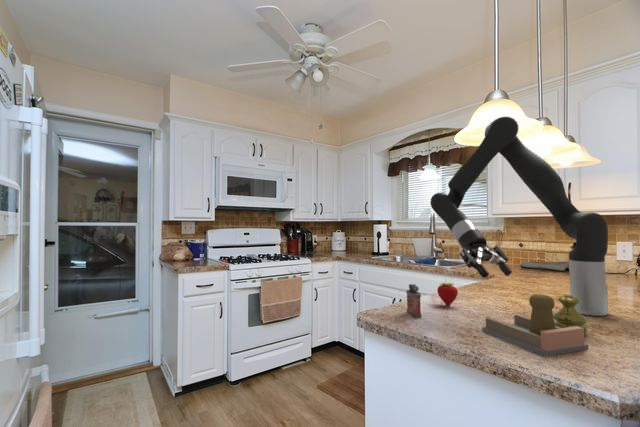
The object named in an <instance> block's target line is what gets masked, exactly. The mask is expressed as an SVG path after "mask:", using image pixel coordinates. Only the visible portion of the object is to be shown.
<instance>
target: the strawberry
mask: <svg viewBox="0 0 640 427" xmlns="http://www.w3.org/2000/svg"><path fill="white" fill-rule="evenodd" d="M444 280H445V281H447V280H446V278H445V279H444ZM436 290H437V293H438V296H439V298H440V299H441V301H442V302H443V303H444V304H445V305H446V306H447V307H450V306H451V305H452V303H454V302H455V300H456V299H457V297H458V293H459V291H458V289H457V287H456V286H454V283H450V282H441V284H439V286H438V287H437V289H436Z"/></svg>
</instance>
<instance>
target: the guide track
mask: <svg viewBox="0 0 640 427" xmlns="http://www.w3.org/2000/svg"><path fill="white" fill-rule="evenodd" d="M513 316H514V323H505V322H502V321H499V320H497V319H494V318H491V317H485V326H484V327H483V326H482V328H481V329H482V330H481V331H482V332H484V333H486V334H488V335H490V336H493V337H496V338H498V339H500V340H503V341H505V342H508V343H509V344H513V345H515V346H518V347H520V348H522V349H525V350H527V351H530V352H532V353H534V354H537V355H539V356H542V357H549V356H554V355H562V354H565V353H572V352H579V351H584V350H589V347H590V346H589V344H588V343H585V336H584V328H581V327H578V326H574V327H567V328H561V327H557V326H555V328H556V329H552V330H545V331H540V333H541V336H540V335H537V334H534V333H532V332H529V330H530V321H531V317H528V316H524V315H521V314H514V315H513Z"/></svg>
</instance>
